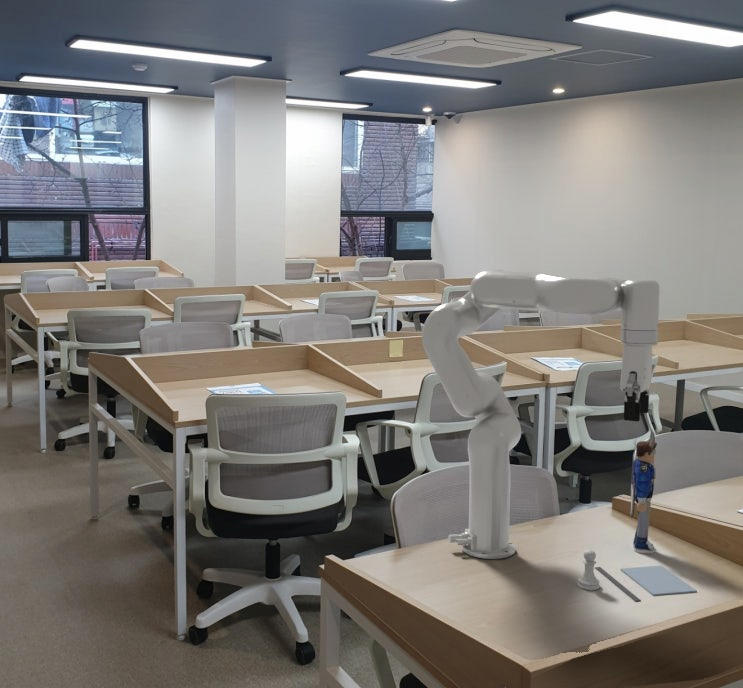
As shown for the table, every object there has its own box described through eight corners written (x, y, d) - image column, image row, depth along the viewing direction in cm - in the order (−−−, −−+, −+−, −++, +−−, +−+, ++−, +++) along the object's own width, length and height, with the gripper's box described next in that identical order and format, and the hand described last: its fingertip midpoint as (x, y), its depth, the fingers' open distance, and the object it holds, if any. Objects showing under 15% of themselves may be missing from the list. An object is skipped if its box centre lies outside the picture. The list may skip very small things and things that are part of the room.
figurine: (656, 558, 198) (662, 431, 194) (629, 556, 199) (635, 430, 195) (651, 542, 208) (657, 421, 204) (625, 540, 209) (631, 420, 205)
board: (635, 601, 174) (635, 600, 174) (595, 568, 191) (595, 566, 191) (702, 595, 177) (702, 594, 177) (656, 563, 194) (656, 562, 194)
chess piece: (574, 581, 184) (575, 546, 183) (595, 581, 184) (597, 545, 183) (580, 590, 179) (582, 554, 178) (603, 590, 179) (604, 553, 178)
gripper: (629, 332, 191) (626, 408, 193) (612, 340, 176) (609, 422, 178) (664, 334, 188) (661, 411, 190) (649, 342, 173) (646, 425, 175)
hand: (636, 416), depth 184 cm, fingers open, 9 cm apart
